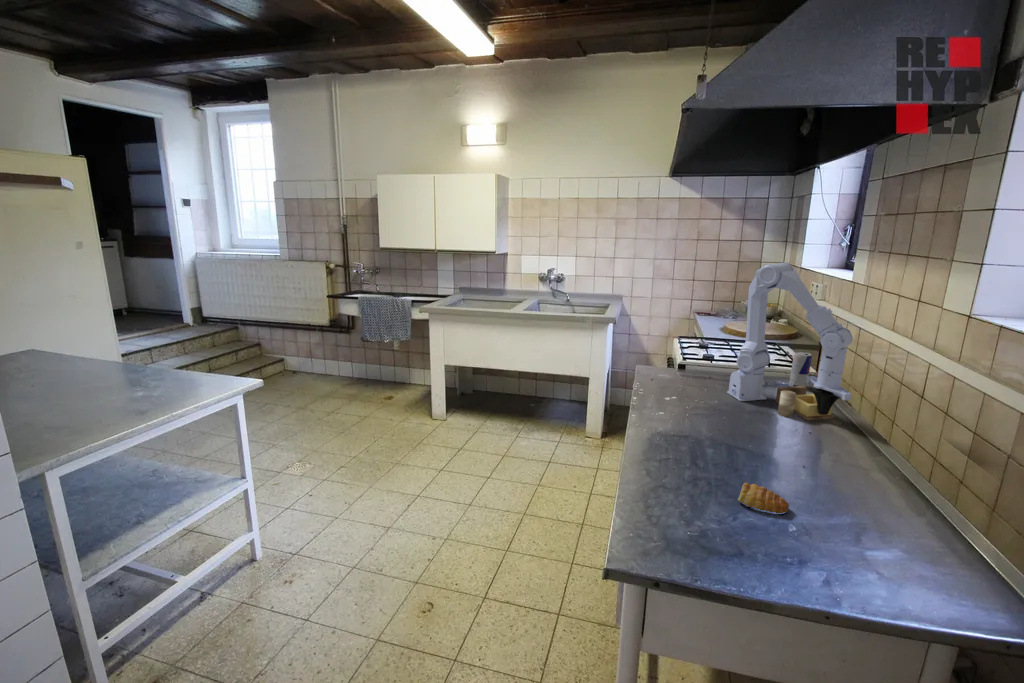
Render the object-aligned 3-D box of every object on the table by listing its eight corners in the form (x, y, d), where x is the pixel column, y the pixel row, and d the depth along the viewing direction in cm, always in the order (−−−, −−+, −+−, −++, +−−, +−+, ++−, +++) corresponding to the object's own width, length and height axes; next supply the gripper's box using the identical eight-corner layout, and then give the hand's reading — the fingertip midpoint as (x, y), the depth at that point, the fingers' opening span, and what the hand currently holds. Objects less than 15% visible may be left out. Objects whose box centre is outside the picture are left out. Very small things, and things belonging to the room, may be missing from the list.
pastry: (789, 505, 104) (792, 489, 103) (785, 522, 98) (788, 506, 97) (741, 491, 109) (743, 476, 108) (735, 506, 103) (737, 491, 102)
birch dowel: (783, 417, 145) (787, 395, 143) (774, 412, 149) (777, 390, 147) (795, 416, 146) (799, 394, 144) (786, 411, 150) (789, 390, 148)
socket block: (806, 416, 144) (808, 405, 143) (788, 405, 152) (789, 395, 151) (830, 414, 145) (833, 403, 144) (811, 404, 153) (812, 393, 152)
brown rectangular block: (807, 420, 143) (810, 404, 142) (775, 401, 156) (777, 387, 155) (835, 418, 144) (838, 402, 143) (800, 400, 158) (803, 385, 156)
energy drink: (809, 389, 167) (815, 356, 163) (793, 389, 167) (799, 356, 163) (801, 383, 172) (806, 351, 169) (785, 383, 172) (791, 351, 169)
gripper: (800, 362, 146) (793, 405, 149) (838, 379, 132) (829, 425, 136) (821, 361, 147) (813, 403, 150) (861, 378, 133) (852, 423, 137)
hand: (822, 413), depth 143 cm, fingers closed
